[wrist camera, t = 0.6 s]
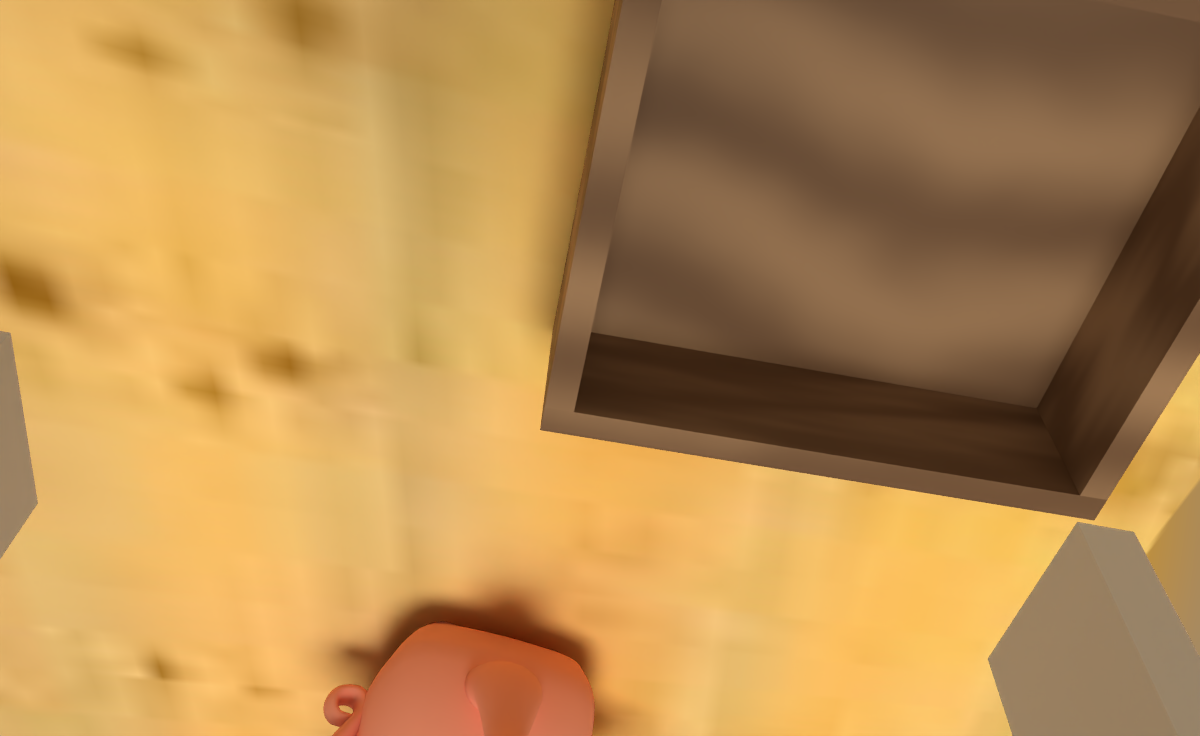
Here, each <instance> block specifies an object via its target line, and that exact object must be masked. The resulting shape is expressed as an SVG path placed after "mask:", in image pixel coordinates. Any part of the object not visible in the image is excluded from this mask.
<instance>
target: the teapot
mask: <svg viewBox="0 0 1200 736" xmlns="http://www.w3.org/2000/svg"><path fill="white" fill-rule="evenodd" d="M340 705H346V706H349V707H351V708H352V709H353V713H352V715H351V714H350V713H346V712H343V711H341V710H340V708H339V706H340ZM594 709H595V704H594V697H593V692H592V688H591V686H590V683H589V681H588V679H587V677H586V675H585V674H584V672H583V670H582V669H581V667H580V665H579V664H578V663H577V662H576V661H575V660H573V659H571V658H570V657H568V656H566V655H563V654H561V653H559V652H557V651H554V650H550V649H546V648H543V647H540V646H537V645H533V644H530V643H527V642H523V641H520V640H516V639H513V638H509V637H505V636H501V635H497V634H493V633H489V632H485V631H480V630H476V629H471V628H466V627H461V626H457V625H455V624H452V623H449V622H434V623H431V624H428V625H426V626H423V627H421V628H419V629H418V630H416V631H415V632H414V633H412V634H411V635H410V636H409V637H408V638H407V639H406V640H405V641H404V642H403V643H402V644H401V645H400V646H399V647H398V648H397V650H396V651H395V652H394V653H393V655H392V656H391V657H390V658H389V660H388V661H387V662H386V663H385V665H384V666H383V667H382V668H381V670H380V671H379V673H378V674H377V676H376V677H375V679H374V680H373V682H372V684H371V686H370V687H369V689H368V691H367V690H365V689H364V688H363V687H361V686H358V685H352V684H347V685H341V686H338V687H336V688H335V689H333V690H332V691H331V692H330V694H329V695H328V696H327V698H326V700H325V703H324V715H325V718H326V719H327V721H328V722H329V723H330V724H332V725H335V726H338V727H340V728H339V729H338V730H337V731H336V732H335V733H334V734H333V735H332V736H592V732H593V723H594Z"/></svg>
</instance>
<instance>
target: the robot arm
mask: <svg viewBox="0 0 1200 736" xmlns="http://www.w3.org/2000/svg"><path fill="white" fill-rule="evenodd" d="M37 504H38V502H37V495H36V489H35V483H34V476H33V470H32V464H31V458H30V451H29V445H28V439H27V433H26V426H25V420H24V414H23V407H22V401H21V395H20V389H19V382H18V376H17V370H16V364H15V357H14V351H13V345H12V339H11V333H8V332H3V331H0V558H1V557H2V556H3V554H4V553H5V551H6V550H7V548H8V547H9V545H10V544H11V542H12V541H13V539H14V538H15V536H16V535H17V533H18V532H19V530H20V529H21V527H22V526H23V524H24V523H25V521H26V520H27V518H28V517H29V515H30V514H31V513H32V511H33V510H34V508H35V507H36V505H37ZM988 661H989V664H990V667H991V670H992V673H993V676H994V679H995V682H996V686H997V689H998V692H999V695H1000V698H1001V701H1002V704H1003V707H1004V710H1005V713H1006V716H1007V719H1008V723H1009V726H1010V729H1011V732H1012V735H1013V736H1200V657H1199V655H1198V653H1197V651H1196V649H1195V647H1194V646H1193V644H1192V642H1191V640H1190V638H1189V636H1188V634H1187V632H1186V630H1185V628H1184V626H1183V624H1182V622H1181V621H1180V619H1179V617H1178V615H1177V613H1176V611H1175V609H1174V607H1173V605H1172V603H1171V602H1170V600H1169V598H1168V596H1167V594H1166V592H1165V590H1164V588H1163V586H1162V584H1161V583H1160V581H1159V579H1158V577H1157V575H1156V573H1155V571H1154V569H1153V567H1152V566H1151V564H1150V562H1149V560H1148V558H1147V556H1146V554H1145V552H1144V550H1143V548H1142V546H1141V544H1140V543H1139V541H1138V539H1137V537H1136V535H1135V533H1134V532H1131V531H1125V530H1120V529H1114V528H1108V527H1103V526H1097V525H1092V524H1086V523H1080V522H1077V523H1076V525H1075V526H1074V528H1073V529H1072V531H1071V533H1070V534H1069V536H1068V537H1067V539H1066V540H1065V542H1064V543H1063V545H1062V546H1061V548H1060V549H1059V551H1058V552H1057V554H1056V555H1055V557H1054V558H1053V560H1052V562H1051V563H1050V565H1049V566H1048V568H1047V569H1046V571H1045V572H1044V574H1043V575H1042V577H1041V578H1040V580H1039V581H1038V583H1037V584H1036V586H1035V587H1034V589H1033V591H1032V592H1031V594H1030V595H1029V597H1028V598H1027V600H1026V601H1025V603H1024V604H1023V606H1022V607H1021V609H1020V610H1019V612H1018V613H1017V615H1016V616H1015V618H1014V620H1013V621H1012V623H1011V624H1010V626H1009V627H1008V629H1007V630H1006V632H1005V633H1004V635H1003V636H1002V638H1001V639H1000V641H999V642H998V644H997V645H996V647H995V649H994V650H993V652H992V653H991V655H990V656H989V658H988Z"/></svg>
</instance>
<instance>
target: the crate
mask: <svg viewBox="0 0 1200 736" xmlns="http://www.w3.org/2000/svg"><path fill="white" fill-rule="evenodd" d="M1199 353H1200V0H615V4H614V9H613V15H612V20H611V25H610V31H609V36H608V41H607V46H606V52H605V57H604V62H603V68H602V73H601V78H600V84H599V89H598V94H597V100H596V105H595V110H594V116H593V121H592V126H591V132H590V137H589V142H588V147H587V153H586V158H585V163H584V169H583V174H582V179H581V185H580V190H579V195H578V201H577V206H576V211H575V217H574V222H573V227H572V233H571V238H570V243H569V248H568V254H567V259H566V264H565V270H564V275H563V280H562V286H561V291H560V296H559V302H558V307H557V312H556V318H555V323H554V328H553V334H552V342H551V350H550V357H549V365H548V373H547V381H546V389H545V397H544V405H543V412H542V420H541V428H540V430H543V431H549V432H555V433H562V434H568V435H574V436H580V437H586V438H592V439H598V440H605V441H611V442H617V443H623V444H629V445H635V446H641V447H647V448H654V449H660V450H666V451H672V452H678V453H684V454H690V455H697V456H703V457H709V458H715V459H721V460H727V461H733V462H739V463H746V464H752V465H758V466H764V467H770V468H776V469H782V470H789V471H795V472H801V473H807V474H813V475H819V476H825V477H831V478H838V479H844V480H850V481H856V482H862V483H868V484H874V485H881V486H887V487H893V488H899V489H905V490H911V491H917V492H923V493H930V494H936V495H942V496H948V497H954V498H960V499H966V500H972V501H979V502H985V503H991V504H997V505H1003V506H1009V507H1015V508H1022V509H1028V510H1034V511H1040V512H1046V513H1052V514H1058V515H1064V516H1071V517H1077V518H1083V519H1089V520H1095V518H1096V517H1097V515H1098V514H1099V512H1100V510H1101V509H1102V507H1103V506H1104V504H1105V502H1106V501H1107V499H1108V498H1109V496H1110V495H1111V493H1112V491H1113V490H1114V488H1115V487H1116V485H1117V483H1118V482H1119V480H1120V479H1121V477H1122V476H1123V474H1124V472H1125V471H1126V469H1127V468H1128V466H1129V464H1130V463H1131V461H1132V460H1133V458H1134V456H1135V455H1136V453H1137V452H1138V450H1139V449H1140V447H1141V445H1142V444H1143V442H1144V441H1145V439H1146V437H1147V436H1148V434H1149V433H1150V431H1151V429H1152V428H1153V426H1154V425H1155V423H1156V422H1157V420H1158V418H1159V417H1160V415H1161V414H1162V412H1163V410H1164V409H1165V407H1166V406H1167V404H1168V403H1169V401H1170V399H1171V398H1172V396H1173V395H1174V393H1175V391H1176V390H1177V388H1178V387H1179V385H1180V383H1181V382H1182V380H1183V379H1184V377H1185V376H1186V374H1187V372H1188V371H1189V369H1190V368H1191V366H1192V364H1193V363H1194V361H1195V360H1196V358H1197V357H1198V355H1199Z"/></svg>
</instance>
